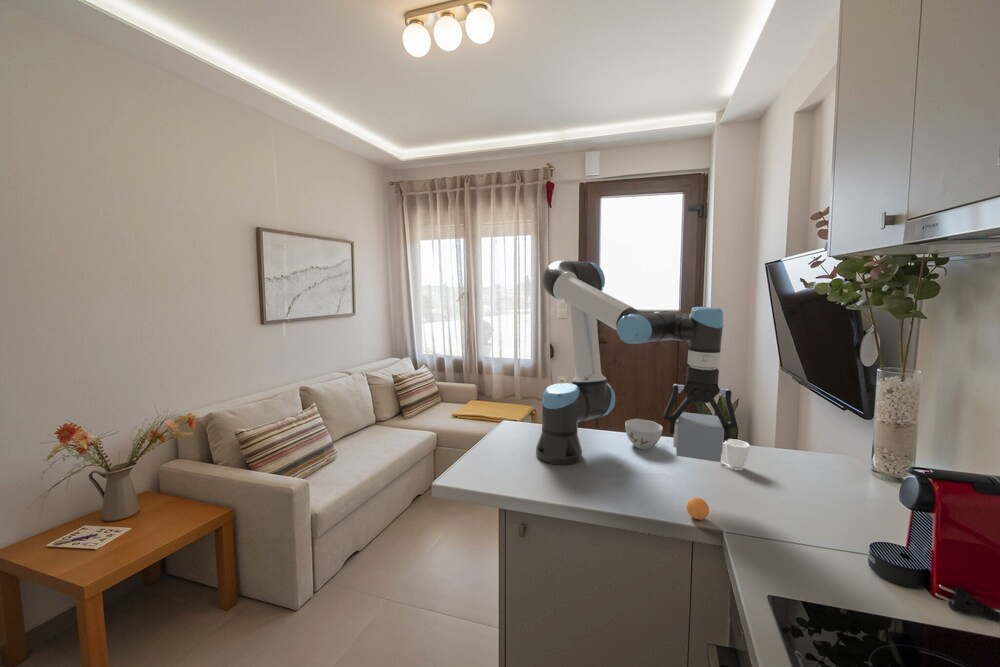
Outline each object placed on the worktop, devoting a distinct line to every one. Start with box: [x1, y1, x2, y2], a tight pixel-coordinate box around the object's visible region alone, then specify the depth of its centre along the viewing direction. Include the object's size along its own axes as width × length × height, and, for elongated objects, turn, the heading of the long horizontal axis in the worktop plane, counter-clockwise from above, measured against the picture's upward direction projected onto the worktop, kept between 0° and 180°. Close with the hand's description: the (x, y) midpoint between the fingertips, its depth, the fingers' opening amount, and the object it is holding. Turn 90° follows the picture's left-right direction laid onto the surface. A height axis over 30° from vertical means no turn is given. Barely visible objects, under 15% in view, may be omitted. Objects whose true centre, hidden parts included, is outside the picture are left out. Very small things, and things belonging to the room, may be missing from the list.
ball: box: [686, 497, 710, 521], centre depth 104 cm, size 5×5×5 cm
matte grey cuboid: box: [675, 411, 723, 463], centre depth 112 cm, size 10×10×9 cm
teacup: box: [624, 418, 663, 450], centre depth 149 cm, size 15×12×8 cm
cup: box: [720, 438, 751, 471], centre depth 133 cm, size 7×10×8 cm
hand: (696, 448), depth 113 cm, fingers closed on matte grey cuboid, 10 cm apart
